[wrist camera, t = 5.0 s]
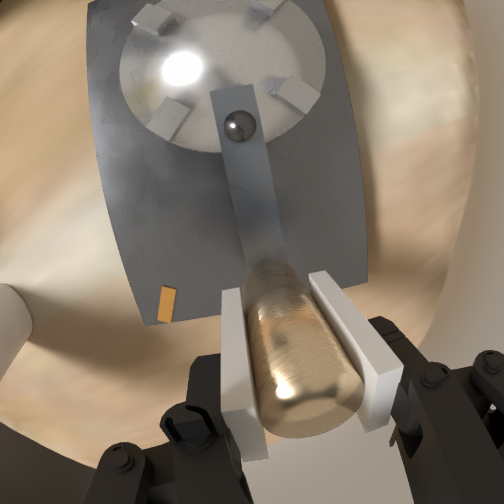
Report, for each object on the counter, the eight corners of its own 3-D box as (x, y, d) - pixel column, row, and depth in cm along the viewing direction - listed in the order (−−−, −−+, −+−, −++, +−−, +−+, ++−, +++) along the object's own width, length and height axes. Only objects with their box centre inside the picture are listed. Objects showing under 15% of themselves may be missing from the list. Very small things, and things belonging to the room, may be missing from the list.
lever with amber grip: (128, 27, 12) (45, -74, 1) (288, -2, 12) (350, -118, 1) (186, 297, 18) (151, 456, 7) (341, 262, 19) (455, 376, 7)
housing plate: (97, 13, 13) (87, 2, 11) (302, -24, 13) (308, -37, 11) (151, 312, 21) (144, 327, 19) (356, 272, 22) (368, 282, 20)
